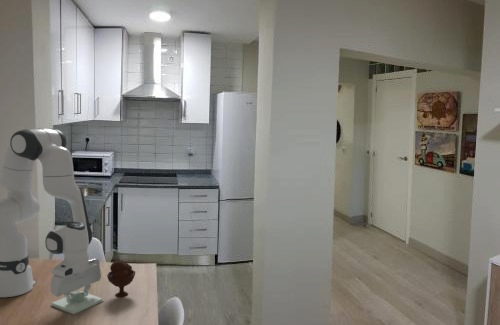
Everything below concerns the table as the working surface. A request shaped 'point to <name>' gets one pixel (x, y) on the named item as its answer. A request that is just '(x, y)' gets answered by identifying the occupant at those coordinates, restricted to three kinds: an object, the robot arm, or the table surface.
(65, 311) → the mat
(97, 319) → the table surface
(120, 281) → the ice cream bowl
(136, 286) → the table surface
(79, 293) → the lid
